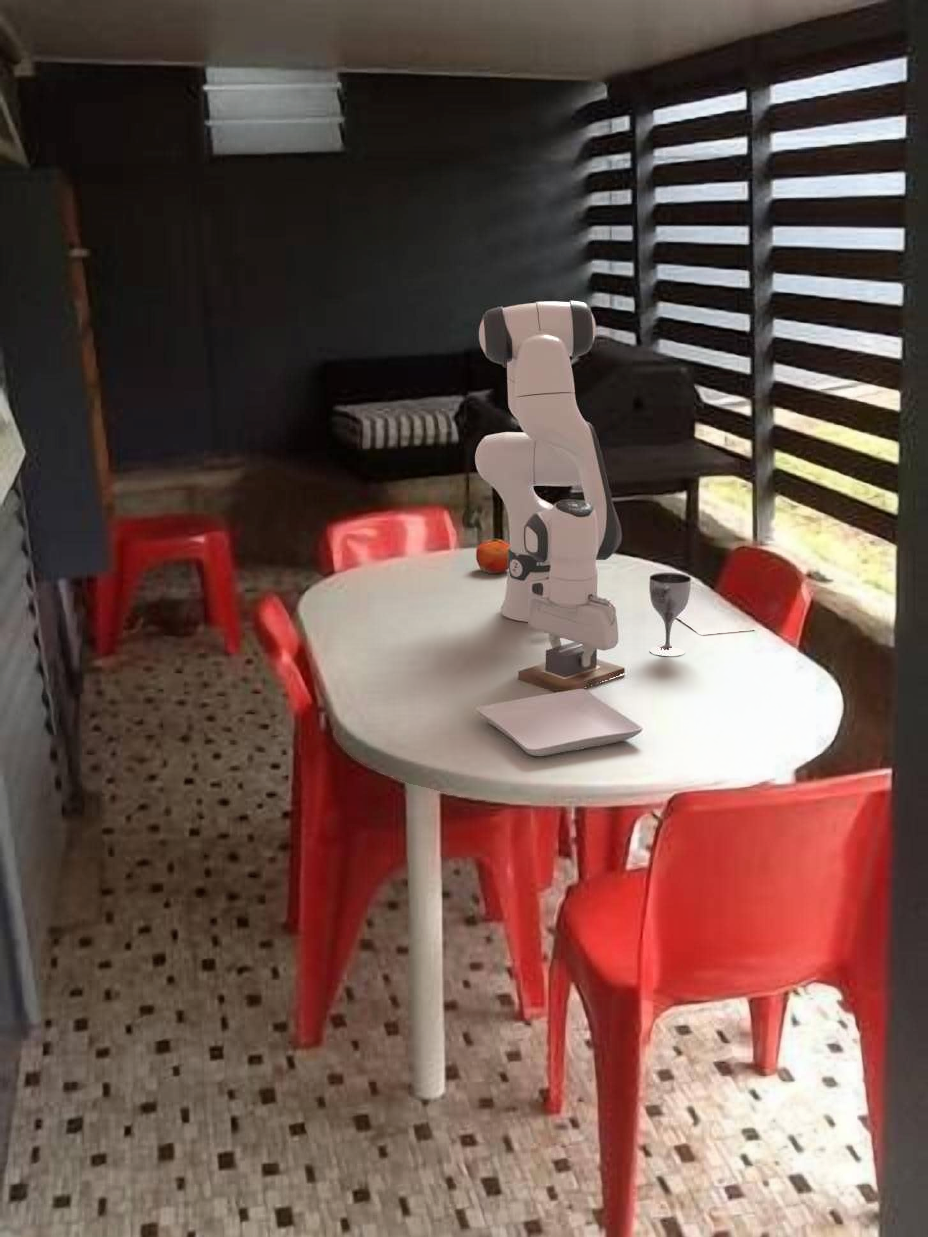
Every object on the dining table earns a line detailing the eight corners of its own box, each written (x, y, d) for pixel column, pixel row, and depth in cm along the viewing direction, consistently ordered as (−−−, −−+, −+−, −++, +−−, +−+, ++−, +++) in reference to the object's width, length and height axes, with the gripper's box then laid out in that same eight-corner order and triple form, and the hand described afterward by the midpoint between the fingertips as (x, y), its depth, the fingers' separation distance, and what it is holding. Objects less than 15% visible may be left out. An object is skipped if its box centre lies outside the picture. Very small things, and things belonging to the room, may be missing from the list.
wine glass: (695, 651, 269) (699, 577, 265) (672, 660, 264) (675, 585, 259) (662, 642, 275) (665, 570, 270) (638, 651, 269) (641, 578, 265)
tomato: (500, 578, 323) (501, 545, 320) (468, 572, 327) (468, 540, 325) (521, 569, 330) (521, 537, 328) (488, 564, 335) (488, 532, 332)
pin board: (577, 660, 264) (578, 639, 263) (624, 675, 256) (625, 654, 254) (518, 678, 254) (518, 657, 253) (564, 695, 245) (565, 673, 244)
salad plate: (529, 768, 215) (529, 748, 214) (473, 723, 233) (473, 704, 232) (645, 747, 223) (646, 727, 222) (582, 705, 241) (583, 687, 240)
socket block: (576, 661, 259) (577, 640, 257) (596, 667, 255) (596, 646, 254) (545, 670, 253) (545, 649, 252) (564, 677, 250) (565, 655, 248)
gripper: (627, 598, 244) (624, 671, 248) (546, 576, 259) (545, 645, 263) (603, 604, 240) (601, 679, 244) (522, 582, 255) (521, 652, 259)
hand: (571, 661), depth 254 cm, fingers closed on socket block, 5 cm apart
